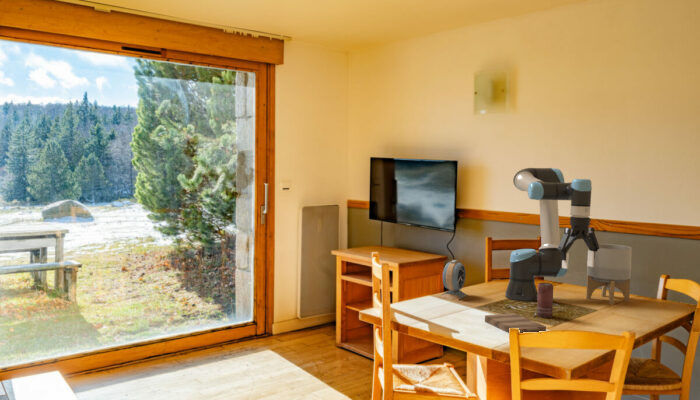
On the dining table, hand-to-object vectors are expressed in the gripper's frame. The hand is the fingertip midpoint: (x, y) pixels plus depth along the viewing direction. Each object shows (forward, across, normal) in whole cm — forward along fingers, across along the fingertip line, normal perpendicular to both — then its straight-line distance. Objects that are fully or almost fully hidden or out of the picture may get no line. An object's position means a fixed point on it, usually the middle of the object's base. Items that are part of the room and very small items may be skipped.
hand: (577, 267), depth 227 cm
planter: (+22, +40, +21) cm, 51 cm away
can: (+22, -10, +7) cm, 25 cm away
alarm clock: (+22, -27, +51) cm, 62 cm away
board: (+21, -33, -3) cm, 39 cm away
